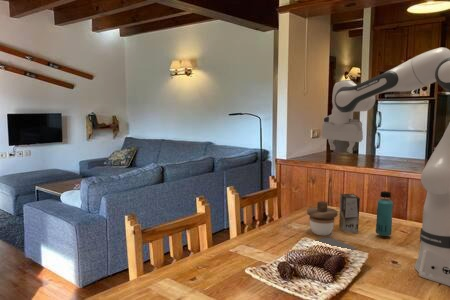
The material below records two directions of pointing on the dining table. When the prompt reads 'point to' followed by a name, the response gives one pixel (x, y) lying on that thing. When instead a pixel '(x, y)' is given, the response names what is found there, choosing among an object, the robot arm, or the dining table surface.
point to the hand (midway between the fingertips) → (340, 150)
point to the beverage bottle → (384, 215)
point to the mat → (335, 243)
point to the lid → (322, 211)
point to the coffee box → (349, 213)
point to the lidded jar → (321, 225)
